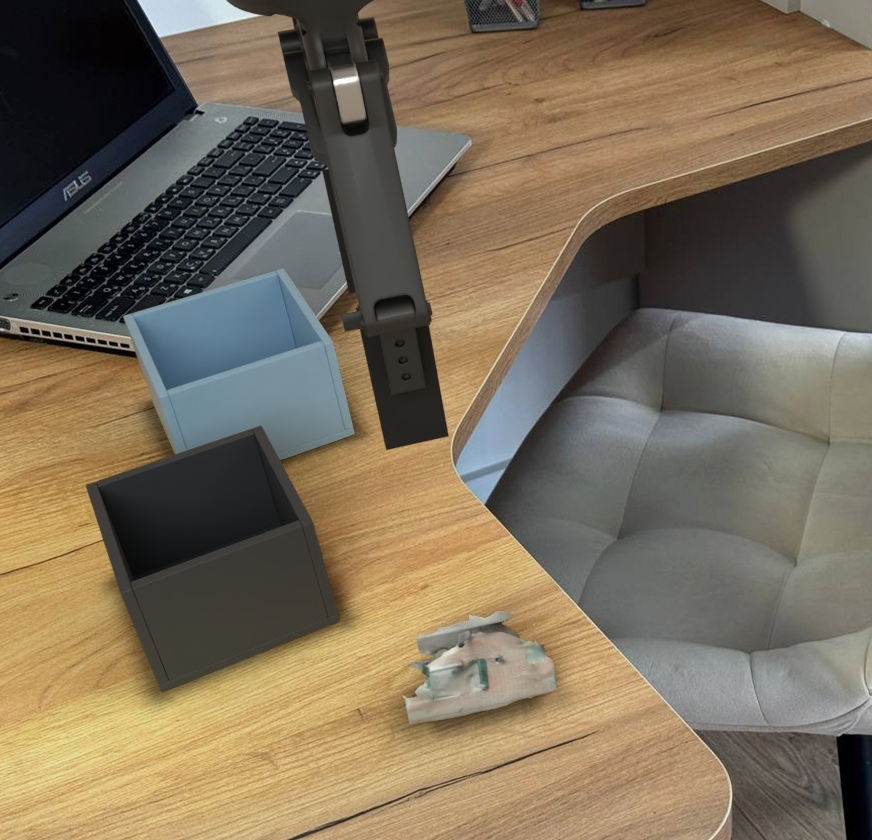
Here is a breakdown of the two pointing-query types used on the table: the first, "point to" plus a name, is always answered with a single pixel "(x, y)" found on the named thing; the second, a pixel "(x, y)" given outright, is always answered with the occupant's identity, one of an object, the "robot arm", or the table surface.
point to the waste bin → (213, 556)
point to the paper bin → (242, 367)
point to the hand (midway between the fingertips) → (393, 355)
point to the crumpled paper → (477, 669)
